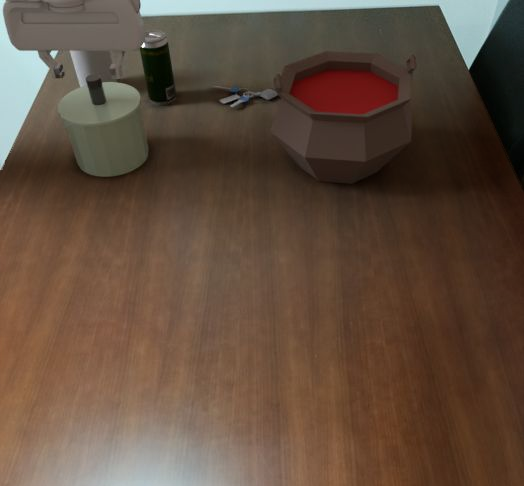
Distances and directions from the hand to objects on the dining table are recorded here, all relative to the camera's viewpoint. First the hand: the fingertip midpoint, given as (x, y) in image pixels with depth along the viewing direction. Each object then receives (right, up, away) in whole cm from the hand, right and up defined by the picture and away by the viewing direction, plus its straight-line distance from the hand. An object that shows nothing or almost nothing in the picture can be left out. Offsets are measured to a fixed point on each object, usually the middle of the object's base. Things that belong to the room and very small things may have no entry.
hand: (88, 77), depth 93 cm
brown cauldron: (+41, -11, +7) cm, 43 cm away
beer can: (+8, +6, +23) cm, 25 cm away
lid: (+1, -3, +3) cm, 5 cm away
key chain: (+24, +5, +21) cm, 33 cm away
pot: (+1, -9, +11) cm, 14 cm away
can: (-6, +10, +27) cm, 29 cm away
